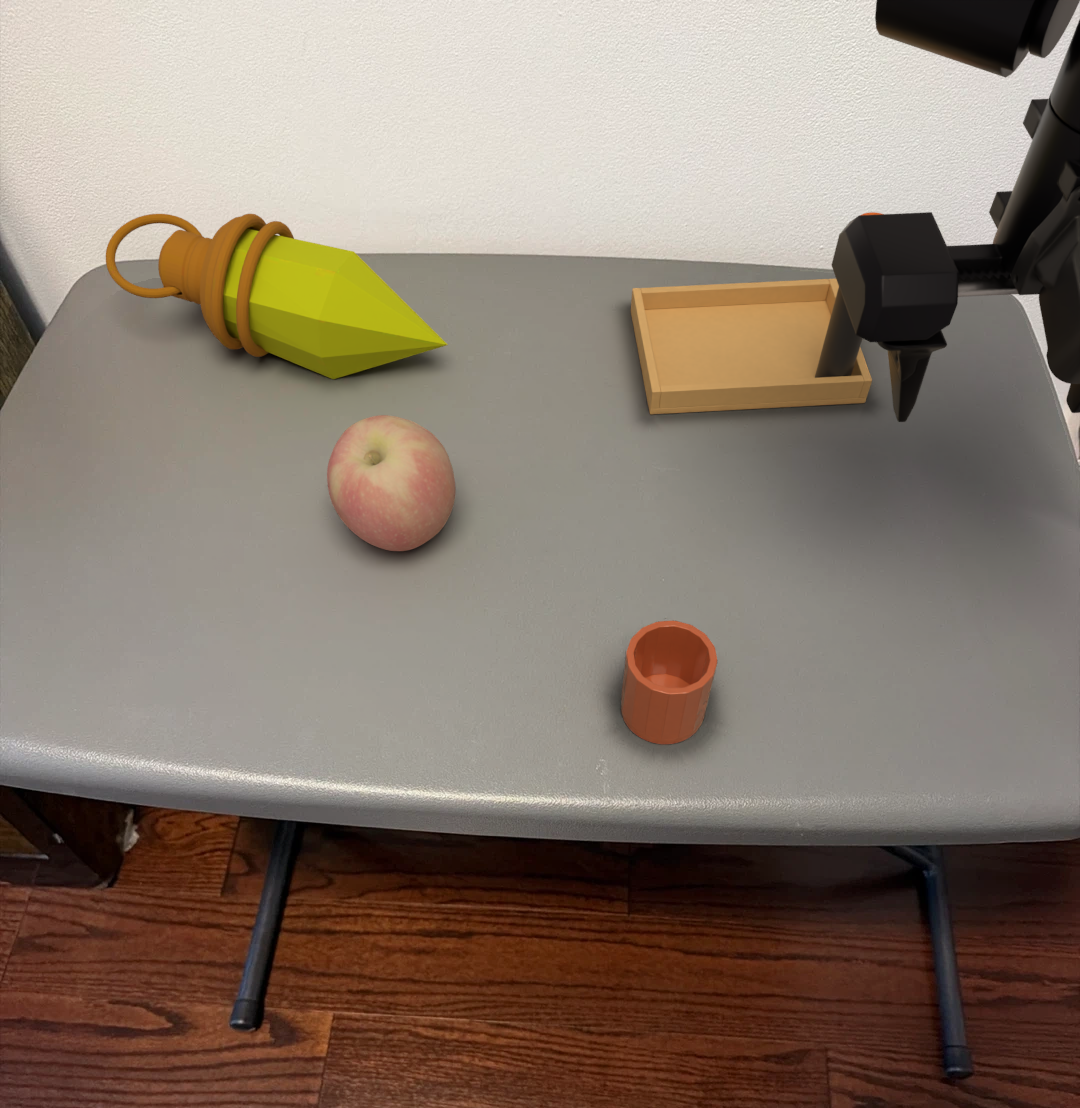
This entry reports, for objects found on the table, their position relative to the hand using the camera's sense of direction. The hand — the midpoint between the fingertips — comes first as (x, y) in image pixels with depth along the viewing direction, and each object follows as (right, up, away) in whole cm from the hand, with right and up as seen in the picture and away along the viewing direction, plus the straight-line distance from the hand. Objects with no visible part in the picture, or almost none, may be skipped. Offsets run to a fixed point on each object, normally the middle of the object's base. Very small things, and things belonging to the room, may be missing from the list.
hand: (986, 412), depth 56 cm
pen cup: (-16, -15, +6) cm, 23 cm away
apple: (-32, -4, +13) cm, 35 cm away
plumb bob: (-41, +11, +23) cm, 49 cm away
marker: (-3, +8, +20) cm, 21 cm away
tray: (-8, +10, +22) cm, 26 cm away
